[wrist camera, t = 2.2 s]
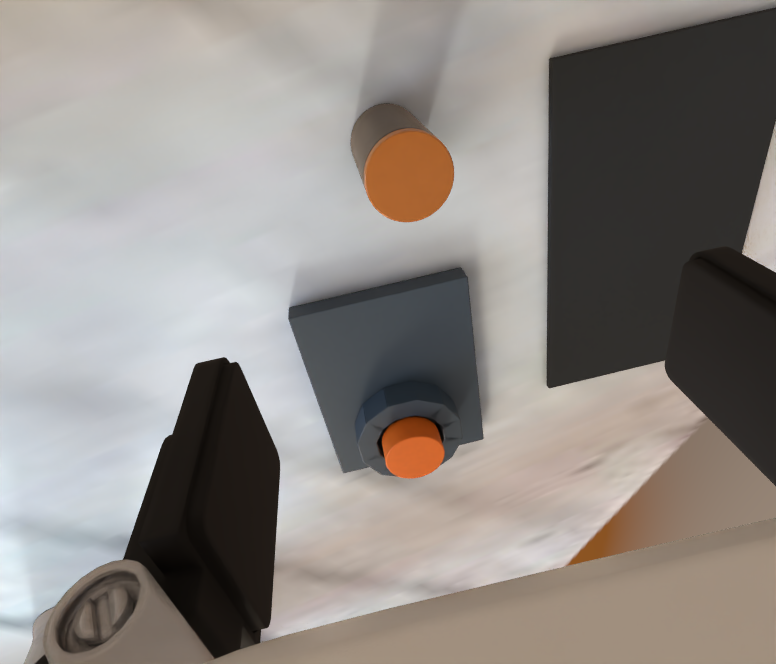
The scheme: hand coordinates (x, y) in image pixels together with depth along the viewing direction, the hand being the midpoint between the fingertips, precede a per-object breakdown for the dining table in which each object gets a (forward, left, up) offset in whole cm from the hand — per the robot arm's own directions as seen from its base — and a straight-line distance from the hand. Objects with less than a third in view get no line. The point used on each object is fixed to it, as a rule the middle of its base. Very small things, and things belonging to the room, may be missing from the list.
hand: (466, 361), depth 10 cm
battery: (-1, +1, -16) cm, 16 cm away
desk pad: (+7, +15, -16) cm, 23 cm away
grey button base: (+13, -1, -16) cm, 21 cm away
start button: (+16, -1, -13) cm, 21 cm away
